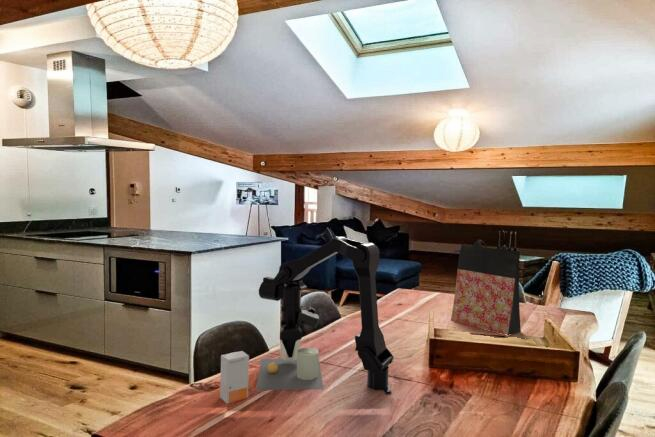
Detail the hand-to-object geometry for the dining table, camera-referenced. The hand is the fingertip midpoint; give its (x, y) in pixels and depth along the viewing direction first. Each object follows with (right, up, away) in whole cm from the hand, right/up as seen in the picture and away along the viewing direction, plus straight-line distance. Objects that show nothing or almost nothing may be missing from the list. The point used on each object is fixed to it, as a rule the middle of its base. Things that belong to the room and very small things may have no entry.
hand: (290, 353), depth 137 cm
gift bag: (+75, -3, +49) cm, 90 cm away
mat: (0, -5, -7) cm, 8 cm away
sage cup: (+6, -4, -8) cm, 11 cm away
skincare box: (-12, -6, -23) cm, 26 cm away
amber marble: (-5, -2, -7) cm, 9 cm away
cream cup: (0, -1, 0) cm, 1 cm away
